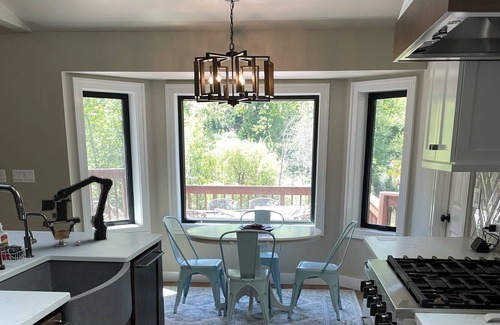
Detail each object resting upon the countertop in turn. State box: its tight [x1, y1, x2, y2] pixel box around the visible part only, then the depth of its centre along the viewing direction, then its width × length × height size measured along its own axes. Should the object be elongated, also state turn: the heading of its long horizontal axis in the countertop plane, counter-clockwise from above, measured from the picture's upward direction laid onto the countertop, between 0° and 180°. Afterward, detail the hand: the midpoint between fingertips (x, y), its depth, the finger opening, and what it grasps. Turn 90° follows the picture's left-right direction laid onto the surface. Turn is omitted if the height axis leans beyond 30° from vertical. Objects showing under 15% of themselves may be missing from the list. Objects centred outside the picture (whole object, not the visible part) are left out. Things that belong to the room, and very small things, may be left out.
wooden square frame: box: [53, 228, 70, 241], centre depth 173 cm, size 7×7×4 cm
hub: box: [53, 239, 69, 248], centre depth 173 cm, size 7×7×5 cm
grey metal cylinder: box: [75, 240, 81, 247], centre depth 174 cm, size 2×2×2 cm
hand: (61, 236), depth 173 cm, fingers closed on wooden square frame, 7 cm apart
